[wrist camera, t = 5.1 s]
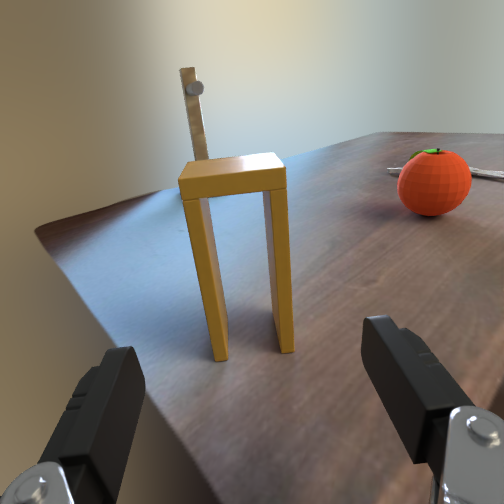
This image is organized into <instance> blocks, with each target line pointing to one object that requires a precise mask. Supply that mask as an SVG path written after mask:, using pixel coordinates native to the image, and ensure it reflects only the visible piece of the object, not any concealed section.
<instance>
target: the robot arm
mask: <svg viewBox="0 0 504 504" xmlns="http://www.w3.org/2000/svg"><path fill="white" fill-rule="evenodd" d="M361 356H362V361H363V365H364V367H365V369H366V371H367V373H368V375H369V377H370V379H371V381H372V383H373V385H374V387H375V389H376V391H377V393H378V395H379V397H380V399H381V401H382V403H383V405H384V407H385V409H386V411H387V413H388V415H389V417H390V419H391V421H392V422H393V424H394V426H395V428H396V430H397V432H398V434H399V436H400V438H401V440H402V442H403V444H404V446H405V448H406V450H407V452H408V454H409V456H410V458H411V460H412V462H413V464H420V463H428V465H429V467H430V468H431V470H432V472H433V476H432V481H431V489H430V496H429V504H504V421H503V420H502V419H501V418H500V417H498V416H497V415H495V414H493V413H491V412H490V411H487V410H485V409H483V408H479V407H476V406H475V405H474V404H473V402H472V401H471V400H470V399H469V397H468V396H467V395H466V394H465V393H464V391H463V390H462V389H461V388H460V386H459V385H458V384H457V383H456V381H455V380H454V379H453V378H452V376H451V375H450V374H449V373H448V371H447V370H446V369H445V368H444V366H443V365H442V364H441V363H439V360H438V359H437V358H436V356H435V355H434V354H433V353H431V350H430V349H429V348H428V346H427V345H426V344H425V343H424V341H423V340H422V339H421V338H420V337H419V336H417V335H416V334H414V333H413V332H411V331H410V330H408V329H407V328H402V329H399V328H398V327H397V326H396V324H395V323H394V322H393V320H392V319H391V318H390V317H389V316H388V315H381V316H373V317H366V318H365V319H364V321H363V332H362V344H361ZM144 396H145V378H144V375H143V372H142V369H141V367H140V364H139V361H138V358H137V355H136V352H135V350H134V348H133V347H132V346H129V347H121V348H113V349H108V350H107V351H106V353H105V355H104V358H103V360H102V362H101V364H100V366H96V367H92V368H91V369H90V370H89V371H88V372H87V373H86V374H85V375H84V377H82V379H81V380H80V381H79V383H78V385H77V387H76V389H75V391H74V393H73V395H72V398H71V399H70V400H69V403H68V404H67V407H66V411H64V412H63V415H62V416H61V418H60V420H59V423H58V424H57V426H56V428H55V430H54V432H53V434H52V436H51V438H50V440H49V442H48V444H47V446H46V448H45V450H44V452H43V454H42V456H41V458H40V460H39V461H38V463H37V465H34V466H32V467H31V468H29V469H27V470H26V471H24V472H23V473H21V474H20V475H19V476H18V477H17V478H16V479H15V480H14V481H13V482H12V483H11V484H10V485H9V486H8V488H7V489H6V490H5V492H4V493H3V495H2V496H0V504H116V501H117V497H118V494H119V490H120V486H121V483H122V479H123V475H124V471H125V467H126V464H127V460H128V456H129V452H130V449H131V445H132V441H133V438H134V433H135V430H136V426H137V423H138V419H139V415H140V411H141V407H142V404H143V400H144Z"/></svg>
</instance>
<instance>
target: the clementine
mask: <svg viewBox="0 0 504 504" xmlns="http://www.w3.org/2000/svg"><path fill="white" fill-rule="evenodd" d="M423 151H424V152H423ZM423 151H417V152H415V153H414V154H413V155H412V156H411V157H410V159H409V162H408V163H407V164H406V165H405V166H404V167H403V169H402V171H401V173H400V175H399V179H398V183H397V191H398V195H399V197H400V200H401V201H402V202H403V204H404V205H405V206H406V207H407V208H408V209H410V210H411V211H413V212H414V213H417V214H421V215H426V216H434V215H441V214H444V213H447V212H449V211H451V210H453V209H454V208H456V207H457V206H458V205H460V204H461V203H462V201H463V200H464V199H465V197H466V196H467V195H468V192H469V190H470V187H471V179H472V176H471V172H470V169H469V167H468V165H467V164H466V162H465V161H464V159H462V158H461V157H460V156H458V155H457V154H455V153H454V152H451V151H445V150H440V149H438V148H437V149H429V150H423ZM421 152H422V153H421ZM419 153H420V154H419ZM417 154H419V155H417ZM416 155H417V156H416ZM415 156H416V157H415Z"/></svg>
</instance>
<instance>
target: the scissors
mask: <svg viewBox="0 0 504 504" xmlns="http://www.w3.org/2000/svg"><path fill="white" fill-rule="evenodd" d="M402 169H403V168H388V172H387V173H401V171H402ZM469 169H470V172H471V173H472V175H478V174H481V175H487V176H493V177H500V178H504V175H498V174H504V172H502V171H488V170H480V169H476V168H472V167H469ZM493 173H496V174H493Z"/></svg>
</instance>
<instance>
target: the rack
mask: <svg viewBox="0 0 504 504" xmlns="http://www.w3.org/2000/svg"><path fill="white" fill-rule="evenodd" d="M179 71H180V77H181V82H182V88H183V94H184V100H185V105H186V111H187V116H188V122H189V128H190V134H191V140H192V145H193V151H194V157H195V161H201V160H209V157H208V150H207V144H206V137H205V131H204V125H203V118H202V111H201V105H200V99H199V95H200V94H202V93H203V91H204V85H203V84H202V82H200V81H197V80H196V73H195V68H194V67H190V68H181V69H180V70H179Z"/></svg>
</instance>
